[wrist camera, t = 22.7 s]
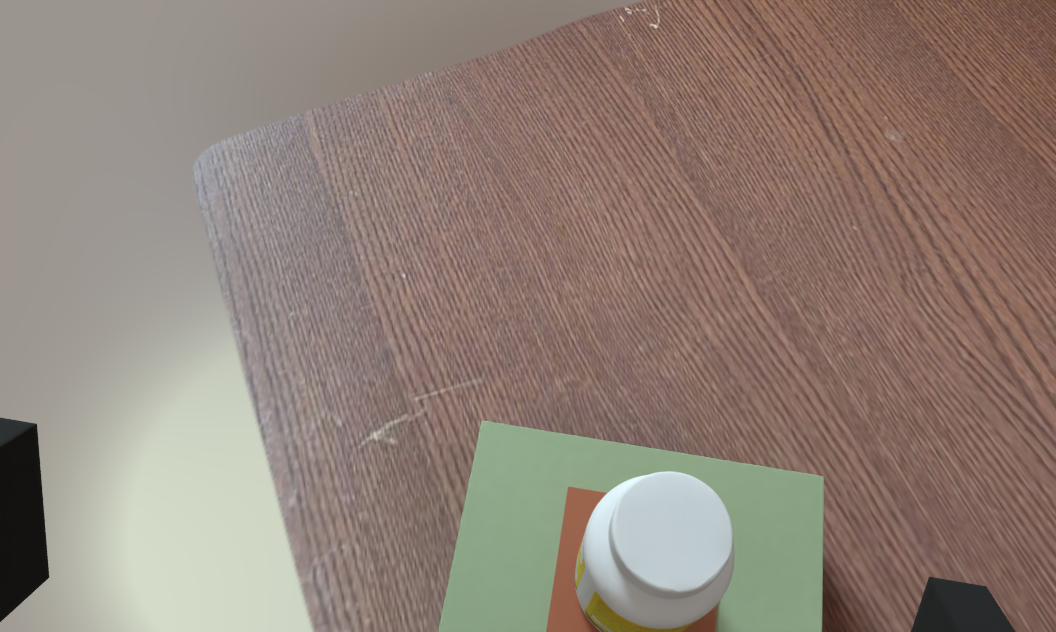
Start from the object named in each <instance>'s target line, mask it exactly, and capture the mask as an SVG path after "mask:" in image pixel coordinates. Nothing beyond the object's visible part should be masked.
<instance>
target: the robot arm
mask: <svg viewBox="0 0 1056 632" xmlns="http://www.w3.org/2000/svg"><path fill="white" fill-rule="evenodd" d="M43 508H44V507H43V496H42V483H41V470H40V458H39V446H38V433H37V424H34V423H28V422H22V421H16V420H11V419H5V418H0V622H1V621H2V620H3V619H4V618H5V617H6V616H7V615H9V613H11V612H12V611H13V610H14V609H15V608H16V607H17V606H18V605H20V604H21V603H22V602H23V601H24V600H25V599H26V598H27V597H28V596H29V595H30V594H32V593H33V592H34V591H35V590H36V589H37V588H38V587H39V586H40V585H41V584H42V583H44V582H45V581H46V580H47V579H48V578H49V571H48V557H47V545H46V533H45V520H44V509H43ZM911 632H1015V630H1014V629H1013V627H1012V626H1011V624H1010V623H1009V621H1008V620H1007V618H1006V616H1005V615H1004V613H1003V612H1002V610H1001V609H1000V607H999V606H998V604H997V603H996V601H995V599H994V598H993V596H992V595H991V593H990V592H989V590H988V589H987V587H986V586H980V585H974V584H968V583H962V582H956V581H951V580H945V579H939V578H933V577H929V579H928V582H927V585H926V588H925V591H924V594H923V597H922V600H921V603H920V606H919V609H918V612H917V616H916V619H915V622H914V625H913V628H912V631H911Z"/></svg>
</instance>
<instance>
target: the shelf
mask: <svg viewBox="0 0 1056 632" xmlns="http://www.w3.org/2000/svg"><path fill="white" fill-rule="evenodd" d="M667 471H671V472H679V473H684V474H687V475H690V476H692V477H695V478H697V479H699V480H700V481H702V482H703V483H705V484H706V485H708V486H709V487H710V488H711V489H712V490H713V491H714V492H715V493H716V494H717V495H718V496H719V497H720V499H721V500H722V502H723V503H724V505H725V507H726V509H727V511H728V513H729V516H730V519H731V523H732V528H733V544H734V554H735V555H734V568H733V574H732V577H731V580H730V583H729V586H728V588H727V590H726V592H725V593H724V595H723V597H722V598H721V600H720V601H719V602H718V603H717V605H716V606H715V607H714V608H713V609H712V610H711V611H710V612H709V613H707V614H706V615H705V616H703V617H702V618H700V619H699V620H697V621H696V622H695V623H693V624H692V625H690V626H689V627H688V628H686V629H685V630H683V631H682V632H822V602H823V526H824V477H823V476H818V475H812V474H806V473H800V472H794V471H787V470H781V469H775V468H769V467H763V466H757V465H751V464H745V463H739V462H733V461H726V460H720V459H714V458H708V457H702V456H696V455H690V454H684V453H678V452H672V451H665V450H659V449H653V448H647V447H641V446H635V445H629V444H623V443H617V442H610V441H604V440H598V439H592V438H586V437H580V436H574V435H568V434H562V433H556V432H549V431H543V430H537V429H531V428H525V427H519V426H513V425H507V424H501V423H495V422H488V421H482V422H481V427H480V431H479V436H478V441H477V446H476V451H475V456H474V461H473V465H472V470H471V475H470V480H469V485H468V490H467V494H466V499H465V504H464V509H463V514H462V519H461V523H460V528H459V533H458V538H457V543H456V548H455V553H454V557H453V562H452V567H451V572H450V577H449V582H448V586H447V591H446V596H445V601H444V606H443V611H442V616H441V620H440V625H439V630H438V632H601V631H599V630H598V629H597V628H596V627H595V626H594V625H593V624H592V623H591V622H590V620H589V619H588V618H587V616H586V615H585V613H584V611H583V610H582V608H581V605H580V603H579V600H578V597H577V594H576V589H575V576H574V575H575V565H576V560H577V556H578V553H579V550H580V546H581V543H582V540H583V537H584V534H585V531H586V527H587V524H588V521H589V519H590V517H591V515H592V512H593V511H594V509H595V508H596V506H597V504H598V503H599V502H600V501H601V499H602V498H603V497H604V496H605V495H606V494H607V493H608V492H609V491H610V490H612V489H613V488H614V487H616V486H618V485H619V484H621V483H623V482H625V481H627V480H629V479H632V478H635V477H639V476H644V475H649V474H652V473H657V472H667Z"/></svg>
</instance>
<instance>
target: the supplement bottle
mask: <svg viewBox="0 0 1056 632" xmlns="http://www.w3.org/2000/svg"><path fill="white" fill-rule="evenodd" d="M734 555H735V554H734V544H733V528H732V523H731V519H730V516H729V513H728V511H727V509H726V507H725V505H724V503H723V502H722V500H721V499H720V497H719V496H718V495H717V494H716V493H715V492H714V491H713V490H712V489H711V488H710V487H709V486H708V485H706V484H705V483H703V482H702V481H700V480H699V479H697V478H695V477H692V476H690V475H687V474H684V473H679V472H671V471H667V472H657V473H652V474H649V475H644V476H639V477H635V478H632V479H629V480H627V481H625V482H623V483H621V484H619V485H618V486H616V487H614V488H613V489H612V490H610V491H609V492H608V493H607V494H606V495H605V496H604V497H603V498H602V499H601V501H600V502H599V503H598V504H597V506H596V508H595V509H594V511H593V512H592V515H591V517H590V519H589V521H588V524H587V527H586V531H585V534H584V537H583V540H582V543H581V546H580V550H579V553H578V556H577V560H576V565H575V575H574V576H575V589H576V594H577V597H578V600H579V603H580V605H581V608H582V610H583V611H584V613H585V615H586V616H587V618H588V619H589V620H590V622H591V623H592V624H593V625H594V626H595V627H596V628H597V629H598V630H599V631H601V632H682V631H683V630H685V629H686V628H688V627H689V626H690V625H692V624H693V623H695V622H696V621H697V620H699V619H700V618H702V617H703V616H705V615H706V614H707V613H709V612H710V611H711V610H712V609H713V608H714V607H715V606H716V605H717V603H718V602H719V601H720V600H721V598H722V597H723V595H724V593H725V592H726V590H727V588H728V586H729V583H730V580H731V577H732V574H733V568H734Z"/></svg>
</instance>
